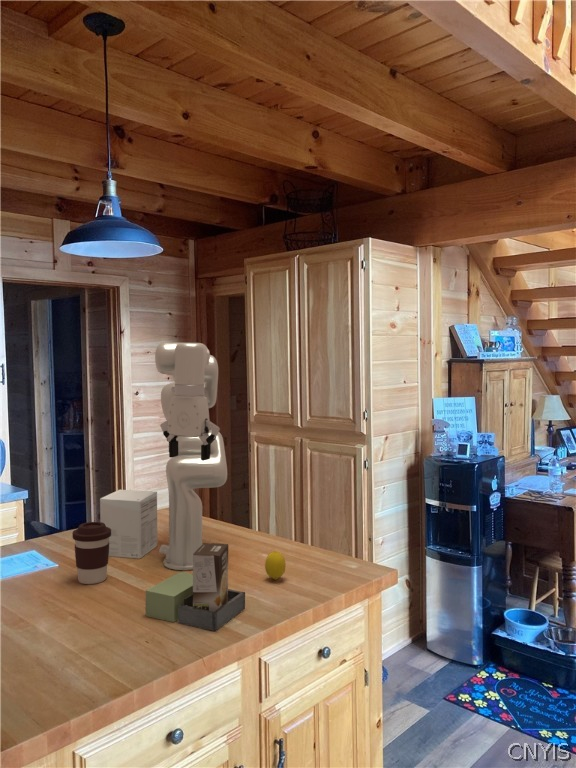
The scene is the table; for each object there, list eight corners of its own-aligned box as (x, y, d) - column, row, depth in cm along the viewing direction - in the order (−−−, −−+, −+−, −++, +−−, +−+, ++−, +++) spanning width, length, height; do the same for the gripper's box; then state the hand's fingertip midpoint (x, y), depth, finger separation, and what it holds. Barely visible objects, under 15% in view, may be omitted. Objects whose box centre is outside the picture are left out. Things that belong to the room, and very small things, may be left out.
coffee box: (219, 625, 140) (219, 555, 140) (191, 624, 141) (192, 554, 140) (228, 609, 149) (228, 543, 149) (202, 607, 150) (202, 541, 149)
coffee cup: (119, 576, 170) (119, 522, 169) (93, 589, 161) (93, 532, 160) (91, 571, 174) (90, 518, 173) (64, 582, 165) (64, 527, 164)
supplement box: (158, 545, 197) (158, 491, 196) (140, 559, 184) (140, 500, 183) (119, 542, 200) (119, 488, 199) (99, 555, 187) (98, 498, 186)
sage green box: (145, 615, 145) (145, 590, 145) (180, 594, 158) (180, 571, 158) (175, 622, 142) (175, 596, 141) (208, 600, 154) (208, 576, 154)
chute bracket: (178, 622, 142) (178, 605, 141) (210, 601, 154) (210, 585, 154) (215, 631, 137) (215, 613, 137) (245, 608, 150) (245, 592, 150)
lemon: (283, 584, 166) (283, 554, 165) (262, 582, 167) (263, 553, 166) (287, 577, 171) (287, 548, 171) (267, 575, 172) (267, 546, 172)
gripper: (152, 391, 159) (152, 457, 160) (210, 393, 152) (210, 463, 153) (170, 389, 166) (170, 453, 167) (226, 392, 158) (226, 458, 159)
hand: (189, 458), depth 160 cm, fingers open, 9 cm apart
